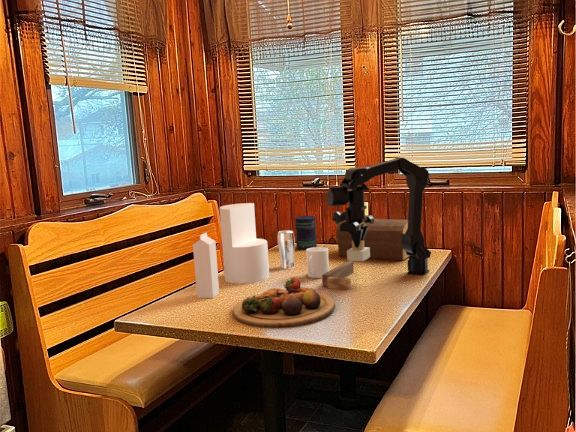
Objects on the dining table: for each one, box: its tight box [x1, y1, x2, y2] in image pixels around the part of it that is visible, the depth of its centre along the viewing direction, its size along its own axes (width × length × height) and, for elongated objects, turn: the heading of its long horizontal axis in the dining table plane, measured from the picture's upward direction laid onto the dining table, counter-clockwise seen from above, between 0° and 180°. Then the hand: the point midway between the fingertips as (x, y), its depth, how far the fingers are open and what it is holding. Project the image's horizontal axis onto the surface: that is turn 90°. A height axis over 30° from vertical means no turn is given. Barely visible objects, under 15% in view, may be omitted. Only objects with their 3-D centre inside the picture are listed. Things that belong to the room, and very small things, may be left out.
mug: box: [305, 246, 330, 279], centre depth 214 cm, size 12×8×10 cm
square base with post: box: [346, 241, 370, 262], centre depth 202 cm, size 6×7×6 cm
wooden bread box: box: [335, 218, 409, 261], centre depth 244 cm, size 18×30×16 cm, turn 61°
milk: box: [192, 231, 220, 299], centre depth 196 cm, size 6×6×22 cm
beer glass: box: [277, 229, 296, 270], centre depth 230 cm, size 7×7×15 cm
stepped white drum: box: [219, 202, 270, 285], centre depth 217 cm, size 17×17×28 cm
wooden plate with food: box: [232, 276, 336, 329], centre depth 176 cm, size 32×32×8 cm
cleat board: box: [321, 260, 354, 291], centre depth 206 cm, size 10×22×4 cm, turn 149°
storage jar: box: [294, 215, 318, 251], centre depth 266 cm, size 10×10×15 cm
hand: (358, 246), depth 202 cm, fingers closed on square base with post
